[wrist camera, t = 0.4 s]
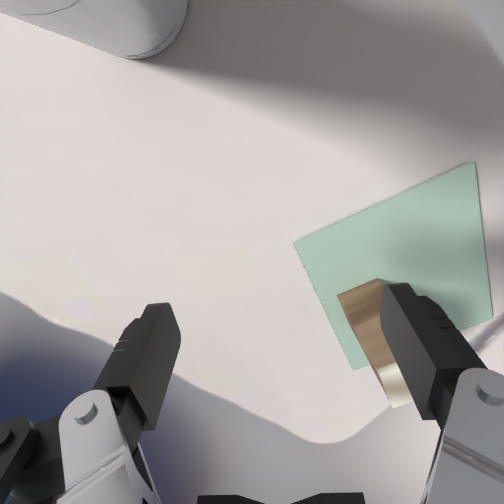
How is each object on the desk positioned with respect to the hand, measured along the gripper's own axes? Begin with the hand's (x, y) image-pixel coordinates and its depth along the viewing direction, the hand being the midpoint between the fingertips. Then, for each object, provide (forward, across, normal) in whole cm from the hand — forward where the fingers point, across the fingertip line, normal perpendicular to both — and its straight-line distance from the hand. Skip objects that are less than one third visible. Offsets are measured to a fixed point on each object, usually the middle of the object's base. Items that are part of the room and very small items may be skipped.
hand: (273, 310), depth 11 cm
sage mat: (+20, -14, +16) cm, 29 cm away
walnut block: (+19, -10, +17) cm, 28 cm away
